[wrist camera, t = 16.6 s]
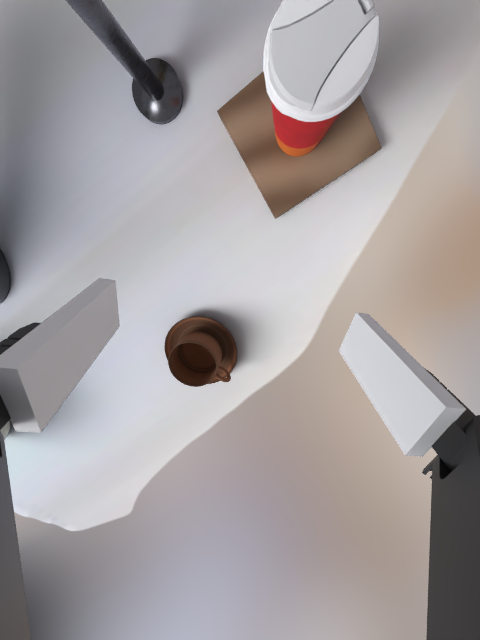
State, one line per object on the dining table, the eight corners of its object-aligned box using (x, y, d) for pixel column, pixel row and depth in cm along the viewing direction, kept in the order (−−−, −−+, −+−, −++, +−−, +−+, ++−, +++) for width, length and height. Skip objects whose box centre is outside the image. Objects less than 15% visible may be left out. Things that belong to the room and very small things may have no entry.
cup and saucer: (246, 325, 39) (242, 340, 33) (229, 385, 43) (222, 409, 37) (175, 304, 39) (159, 315, 33) (164, 366, 43) (148, 386, 38)
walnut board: (219, 115, 30) (217, 111, 29) (325, 25, 26) (327, 16, 25) (275, 218, 33) (275, 218, 32) (377, 151, 29) (381, 148, 28)
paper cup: (310, 70, 27) (348, -89, 14) (345, 135, 28) (410, 49, 15) (252, 124, 29) (237, 33, 16) (288, 182, 31) (301, 141, 17)
